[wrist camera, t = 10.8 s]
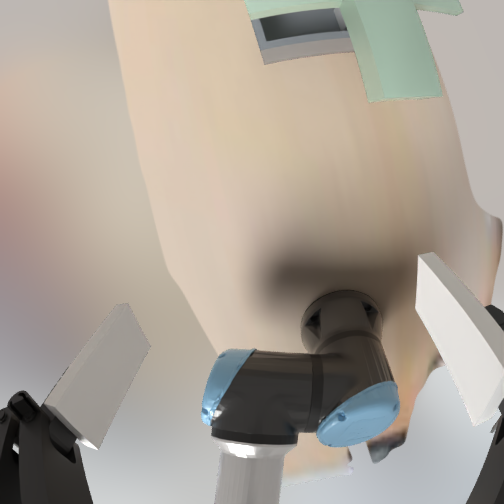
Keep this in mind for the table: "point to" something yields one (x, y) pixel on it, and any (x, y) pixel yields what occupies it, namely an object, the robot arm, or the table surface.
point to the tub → (302, 35)
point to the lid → (380, 41)
